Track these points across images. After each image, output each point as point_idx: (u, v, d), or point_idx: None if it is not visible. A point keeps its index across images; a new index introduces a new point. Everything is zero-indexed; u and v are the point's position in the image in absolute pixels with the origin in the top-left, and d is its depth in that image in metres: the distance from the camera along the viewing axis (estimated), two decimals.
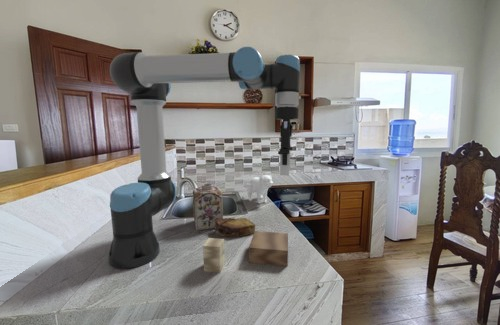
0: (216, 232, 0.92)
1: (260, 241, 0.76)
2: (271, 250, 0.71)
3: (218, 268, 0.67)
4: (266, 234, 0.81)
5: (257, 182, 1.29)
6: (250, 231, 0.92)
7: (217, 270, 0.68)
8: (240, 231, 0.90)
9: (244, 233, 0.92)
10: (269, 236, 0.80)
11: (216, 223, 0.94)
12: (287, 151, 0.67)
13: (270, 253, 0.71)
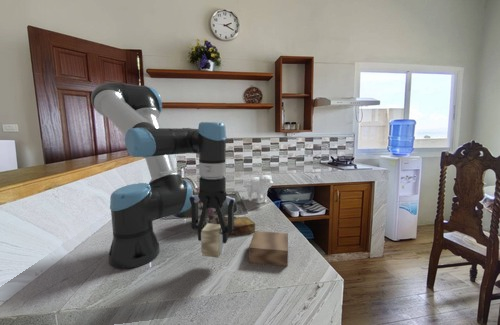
0: None
1: (260, 241, 0.76)
2: (271, 250, 0.71)
3: (216, 253, 0.67)
4: (266, 234, 0.81)
5: (257, 182, 1.29)
6: (250, 230, 0.94)
7: (215, 255, 0.67)
8: (240, 229, 0.92)
9: (244, 231, 0.93)
10: (269, 236, 0.80)
11: (217, 220, 0.96)
12: None
13: (270, 253, 0.71)
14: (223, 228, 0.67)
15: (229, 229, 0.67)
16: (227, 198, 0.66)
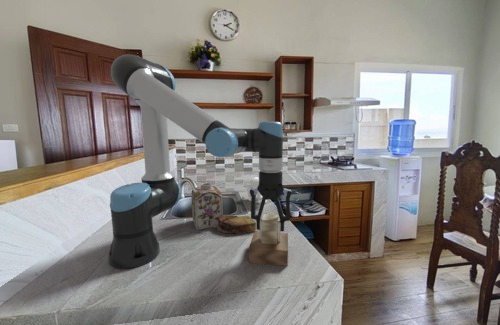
0: (218, 228, 0.96)
1: (260, 241, 0.76)
2: (271, 250, 0.71)
3: (275, 240, 0.74)
4: None
5: (257, 182, 1.29)
6: (251, 229, 0.94)
7: (274, 242, 0.74)
8: (241, 228, 0.93)
9: (245, 230, 0.94)
10: None
11: (218, 219, 0.97)
12: None
13: (270, 253, 0.71)
14: (281, 217, 0.74)
15: (287, 218, 0.74)
16: (284, 190, 0.73)
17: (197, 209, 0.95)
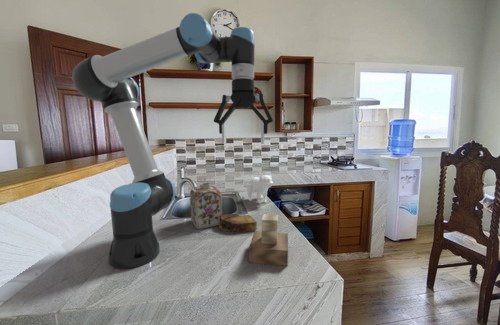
0: (219, 226, 0.97)
1: (260, 241, 0.76)
2: (271, 250, 0.71)
3: (275, 240, 0.74)
4: None
5: (257, 182, 1.29)
6: (252, 228, 0.95)
7: (274, 242, 0.74)
8: (241, 227, 0.94)
9: (245, 229, 0.95)
10: None
11: (220, 218, 0.99)
12: None
13: (270, 253, 0.71)
14: (263, 119, 0.77)
15: (270, 119, 0.76)
16: (256, 96, 0.77)
17: (197, 209, 0.96)
